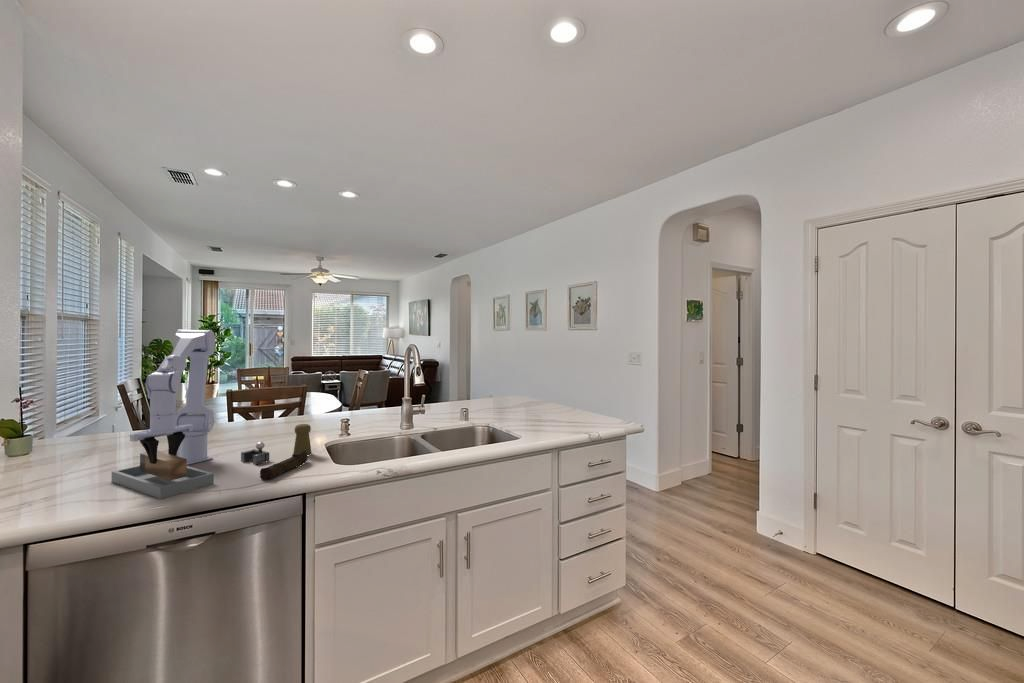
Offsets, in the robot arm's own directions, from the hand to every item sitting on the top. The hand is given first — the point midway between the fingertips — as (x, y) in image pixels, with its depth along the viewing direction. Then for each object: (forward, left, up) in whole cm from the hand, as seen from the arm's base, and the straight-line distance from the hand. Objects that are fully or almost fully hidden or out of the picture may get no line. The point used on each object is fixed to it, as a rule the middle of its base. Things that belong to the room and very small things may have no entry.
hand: (162, 461), depth 122 cm
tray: (0, 0, -6) cm, 6 cm away
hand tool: (+20, +24, -7) cm, 32 cm away
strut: (0, 0, -4) cm, 4 cm away
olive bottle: (+10, +38, -6) cm, 40 cm away
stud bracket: (+3, +26, -6) cm, 27 cm away
